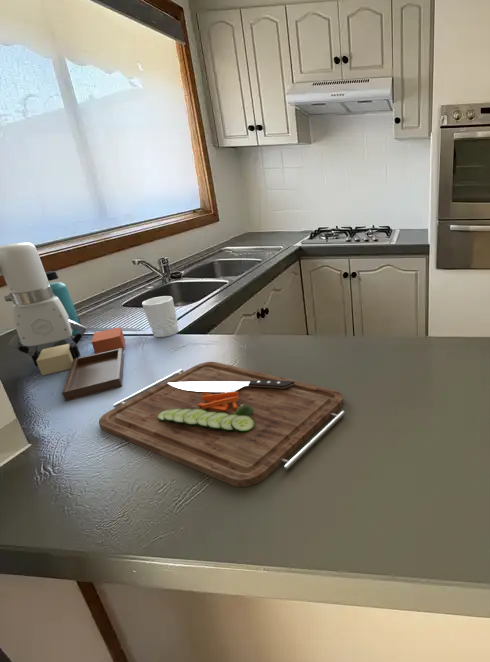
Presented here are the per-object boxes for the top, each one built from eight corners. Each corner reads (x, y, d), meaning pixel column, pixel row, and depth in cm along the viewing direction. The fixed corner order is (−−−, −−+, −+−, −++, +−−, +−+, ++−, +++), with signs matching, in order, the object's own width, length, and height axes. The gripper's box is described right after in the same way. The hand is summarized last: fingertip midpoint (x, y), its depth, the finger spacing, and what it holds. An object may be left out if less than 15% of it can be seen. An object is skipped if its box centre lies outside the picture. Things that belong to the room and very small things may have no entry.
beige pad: (42, 375, 102) (36, 360, 100) (48, 363, 108) (42, 349, 107) (73, 368, 104) (68, 353, 103) (77, 356, 111) (72, 342, 110)
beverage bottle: (89, 335, 125) (65, 269, 118) (64, 343, 120) (38, 276, 113) (78, 332, 129) (55, 268, 122) (54, 340, 124) (28, 274, 116)
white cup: (161, 340, 117) (152, 306, 114) (145, 335, 122) (136, 303, 118) (186, 330, 124) (178, 297, 120) (170, 326, 128) (162, 294, 124)
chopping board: (85, 423, 80) (80, 409, 79) (200, 363, 102) (197, 351, 100) (262, 497, 59) (258, 480, 58) (360, 401, 80) (359, 387, 79)
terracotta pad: (96, 356, 110) (91, 342, 109) (98, 345, 117) (94, 332, 116) (124, 349, 113) (119, 336, 112) (125, 340, 120) (120, 326, 118)
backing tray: (65, 401, 89) (61, 392, 88) (76, 366, 105) (73, 358, 104) (121, 386, 93) (119, 378, 92) (124, 355, 110) (121, 347, 109)
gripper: (-18, 308, 93) (13, 379, 99) (74, 292, 100) (98, 359, 107) (-9, 300, 99) (21, 367, 106) (78, 285, 106) (100, 349, 113)
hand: (59, 363), depth 106 cm, fingers closed on beige pad, 6 cm apart
